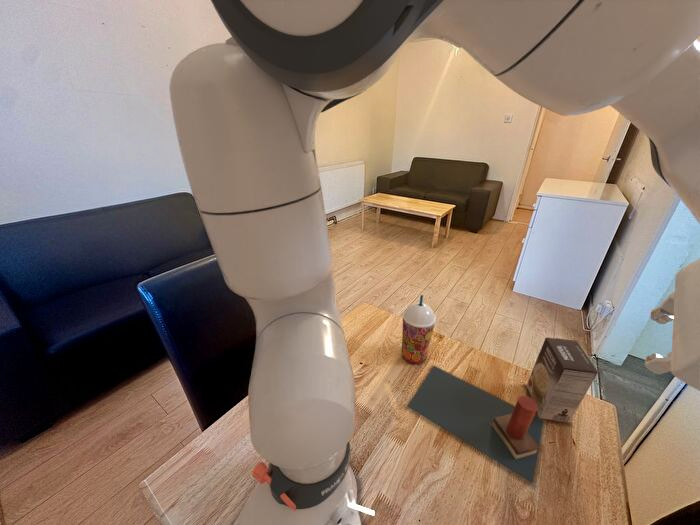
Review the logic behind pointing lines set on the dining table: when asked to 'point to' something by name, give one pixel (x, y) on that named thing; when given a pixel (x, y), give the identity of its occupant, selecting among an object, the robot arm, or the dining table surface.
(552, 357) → the coffee box
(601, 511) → the dining table surface
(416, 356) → the smoothie
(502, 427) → the red cylinder on base
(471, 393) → the mat
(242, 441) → the dining table surface
